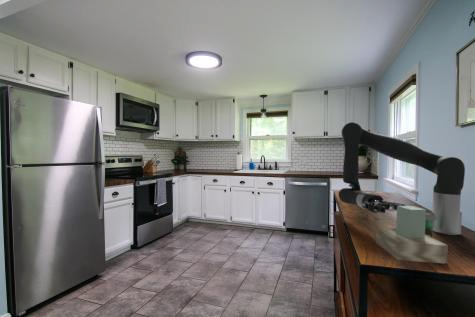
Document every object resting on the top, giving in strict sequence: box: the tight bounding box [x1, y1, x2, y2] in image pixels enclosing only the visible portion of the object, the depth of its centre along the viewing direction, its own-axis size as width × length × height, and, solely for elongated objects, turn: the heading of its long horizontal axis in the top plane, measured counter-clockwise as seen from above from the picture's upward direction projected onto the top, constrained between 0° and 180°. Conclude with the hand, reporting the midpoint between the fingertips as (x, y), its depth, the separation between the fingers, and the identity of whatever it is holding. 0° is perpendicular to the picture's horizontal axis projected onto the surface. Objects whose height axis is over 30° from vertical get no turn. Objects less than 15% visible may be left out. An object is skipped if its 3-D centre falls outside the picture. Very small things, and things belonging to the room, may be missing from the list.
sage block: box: [395, 205, 427, 239], centre depth 83 cm, size 6×6×10 cm
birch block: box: [375, 227, 449, 264], centre depth 83 cm, size 14×15×6 cm
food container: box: [425, 210, 437, 238], centre depth 102 cm, size 12×6×10 cm, turn 168°
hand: (395, 210), depth 90 cm, fingers open, 8 cm apart
